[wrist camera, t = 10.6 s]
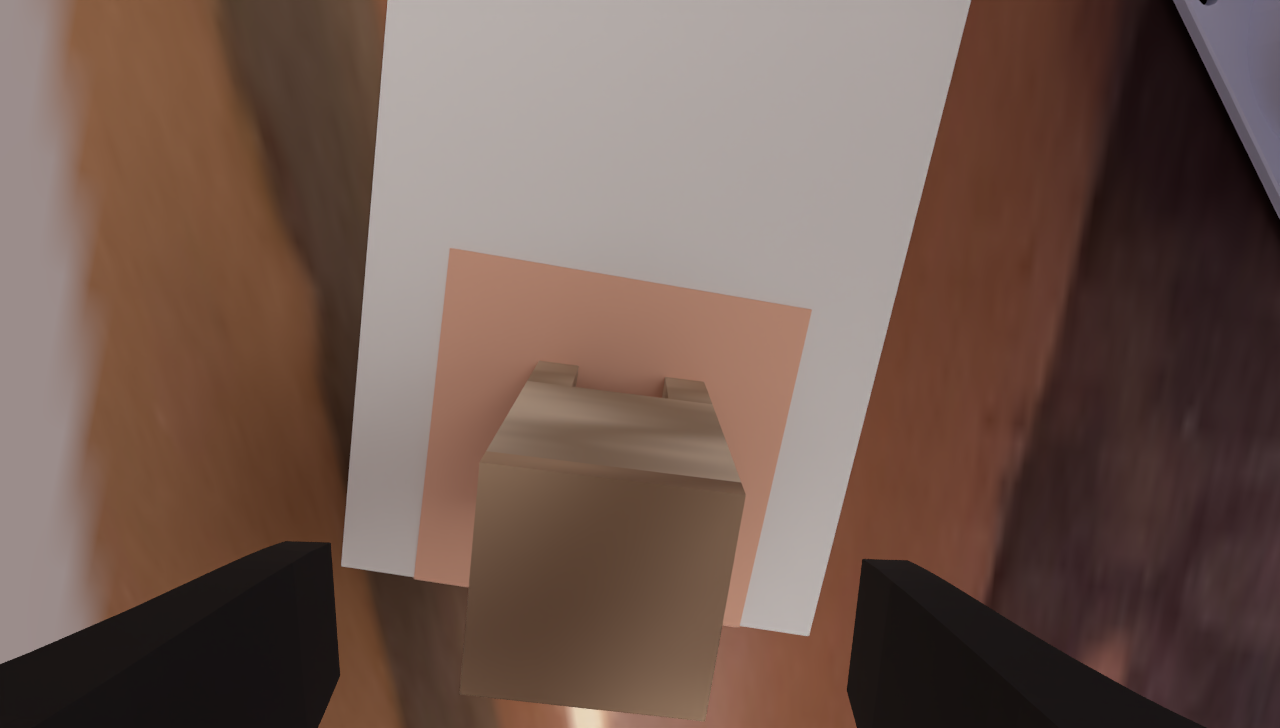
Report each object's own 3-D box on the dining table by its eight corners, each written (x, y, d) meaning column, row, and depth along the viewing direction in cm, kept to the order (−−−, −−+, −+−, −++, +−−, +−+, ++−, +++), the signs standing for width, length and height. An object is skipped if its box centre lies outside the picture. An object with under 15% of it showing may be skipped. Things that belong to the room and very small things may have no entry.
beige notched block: (703, 382, 18) (745, 495, 11) (680, 532, 19) (704, 721, 12) (539, 360, 18) (479, 462, 11) (523, 513, 19) (459, 694, 12)
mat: (432, -457, 14) (425, -480, 14) (1046, -325, 15) (1060, -343, 15) (346, 558, 20) (339, 568, 19) (805, 627, 20) (809, 638, 20)
